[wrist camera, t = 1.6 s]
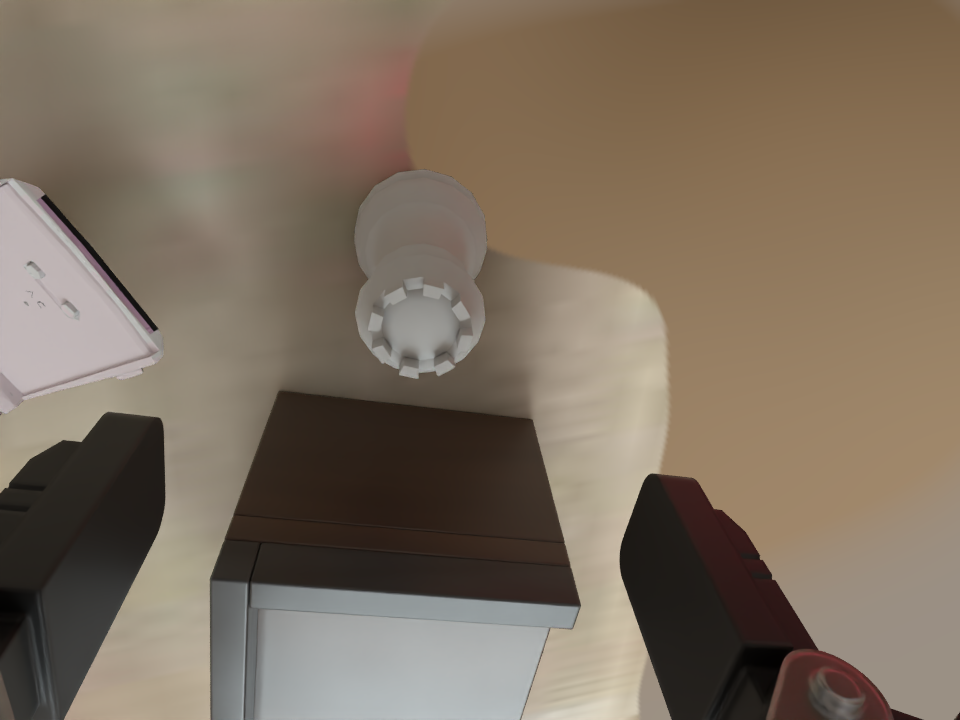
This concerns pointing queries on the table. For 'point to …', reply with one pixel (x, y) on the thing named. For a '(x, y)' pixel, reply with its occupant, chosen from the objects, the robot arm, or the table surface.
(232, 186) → the table surface
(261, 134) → the table surface
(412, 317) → the rook chess piece
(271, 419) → the tray
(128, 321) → the mobile phone
